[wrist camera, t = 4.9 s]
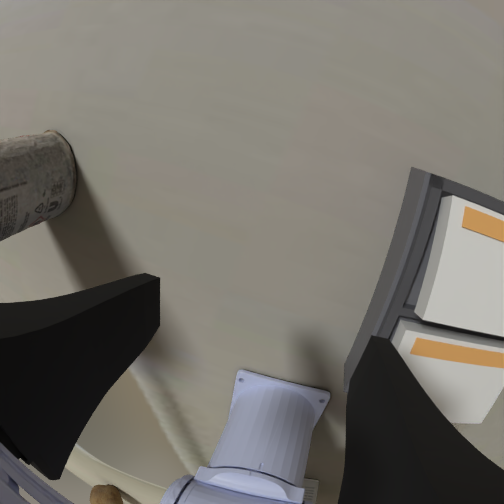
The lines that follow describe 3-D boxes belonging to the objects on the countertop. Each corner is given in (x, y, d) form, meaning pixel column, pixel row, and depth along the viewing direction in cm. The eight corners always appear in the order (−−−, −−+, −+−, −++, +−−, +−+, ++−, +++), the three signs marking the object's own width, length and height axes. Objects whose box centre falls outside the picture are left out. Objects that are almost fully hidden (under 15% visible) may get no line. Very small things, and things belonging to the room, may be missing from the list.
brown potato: (137, 500, 52) (121, 527, 43) (115, 492, 55) (99, 516, 46) (116, 483, 50) (98, 511, 41) (95, 474, 53) (77, 499, 44)
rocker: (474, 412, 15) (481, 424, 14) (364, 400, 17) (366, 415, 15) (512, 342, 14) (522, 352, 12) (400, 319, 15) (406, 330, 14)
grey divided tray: (466, 384, 19) (476, 413, 16) (344, 364, 21) (343, 398, 18) (544, 221, 13) (571, 237, 10) (411, 166, 16) (429, 173, 12)
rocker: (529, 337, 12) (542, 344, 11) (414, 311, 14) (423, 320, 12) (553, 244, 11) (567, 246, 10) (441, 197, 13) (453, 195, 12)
